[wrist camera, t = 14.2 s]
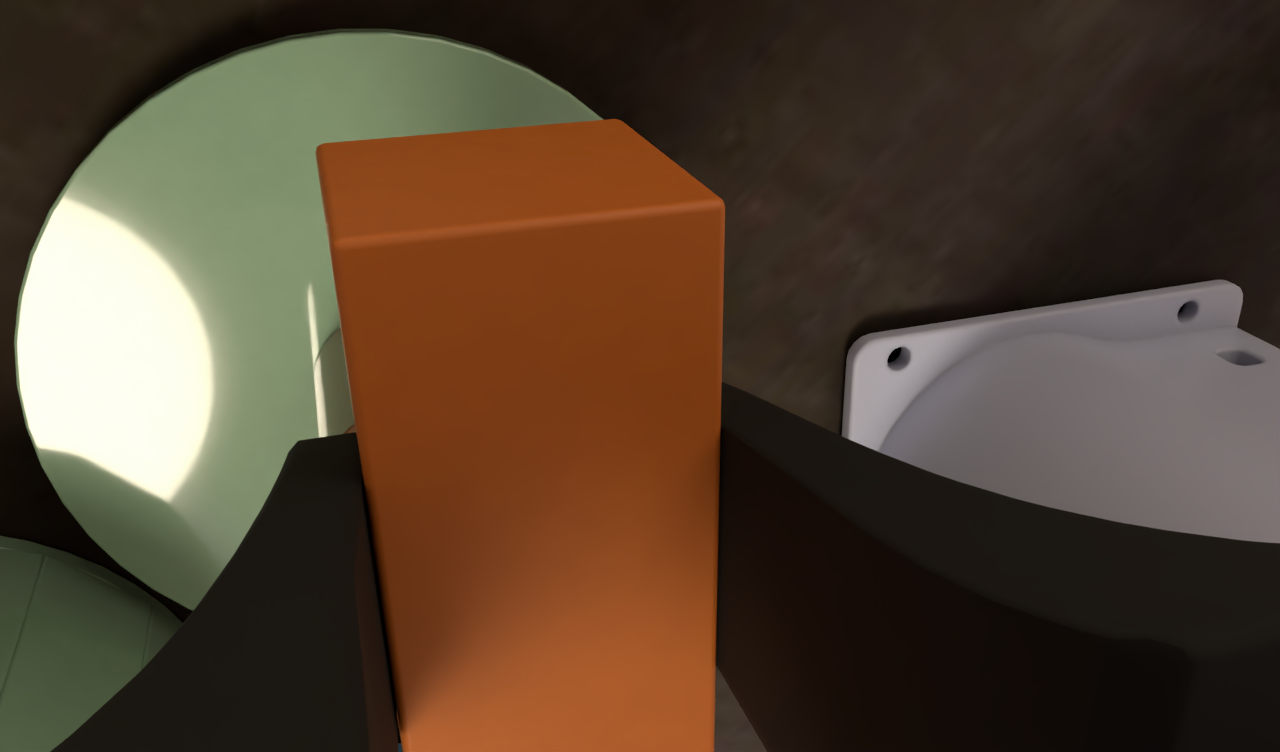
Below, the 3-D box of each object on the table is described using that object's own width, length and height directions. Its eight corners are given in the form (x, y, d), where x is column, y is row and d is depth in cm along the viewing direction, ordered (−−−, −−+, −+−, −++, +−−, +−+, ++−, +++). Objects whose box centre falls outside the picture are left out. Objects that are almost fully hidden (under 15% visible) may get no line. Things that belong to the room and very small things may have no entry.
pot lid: (677, -1, 19) (791, 43, 14) (682, 550, 23) (768, 697, 19) (-67, 50, 16) (-183, 121, 12) (117, 663, 21) (79, 862, 17)
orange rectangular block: (313, 141, 11) (328, 242, 8) (621, 115, 12) (728, 198, 9) (392, 685, 14) (423, 890, 11) (632, 634, 15) (716, 815, 12)
